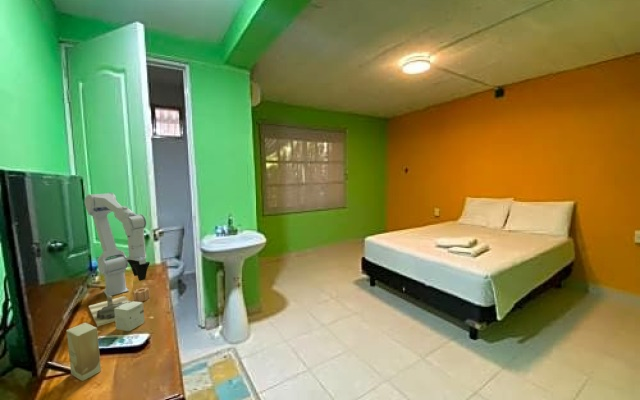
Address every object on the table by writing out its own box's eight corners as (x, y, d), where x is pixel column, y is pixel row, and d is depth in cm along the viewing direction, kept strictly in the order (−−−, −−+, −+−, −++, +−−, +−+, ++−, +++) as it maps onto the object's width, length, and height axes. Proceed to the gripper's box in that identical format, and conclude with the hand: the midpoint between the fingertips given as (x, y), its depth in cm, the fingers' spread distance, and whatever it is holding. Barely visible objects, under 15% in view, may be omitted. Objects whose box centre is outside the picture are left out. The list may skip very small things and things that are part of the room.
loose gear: (132, 299, 119) (131, 290, 119) (147, 295, 123) (146, 286, 123) (136, 303, 116) (135, 294, 115) (151, 299, 119) (150, 289, 119)
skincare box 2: (129, 331, 95) (127, 310, 94) (115, 329, 97) (113, 308, 96) (145, 322, 101) (143, 302, 100) (132, 320, 102) (130, 300, 102)
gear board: (88, 308, 113) (87, 297, 112) (125, 298, 121) (124, 287, 121) (97, 326, 99) (96, 314, 98) (137, 313, 107) (136, 302, 107)
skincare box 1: (70, 374, 75) (64, 329, 74) (89, 364, 79) (85, 321, 78) (82, 382, 72) (77, 335, 71) (102, 371, 76) (97, 327, 75)
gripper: (120, 244, 119) (124, 276, 121) (129, 250, 109) (132, 285, 110) (140, 241, 124) (143, 271, 126) (150, 246, 114) (153, 279, 115)
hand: (139, 277), depth 118 cm, fingers open, 7 cm apart
